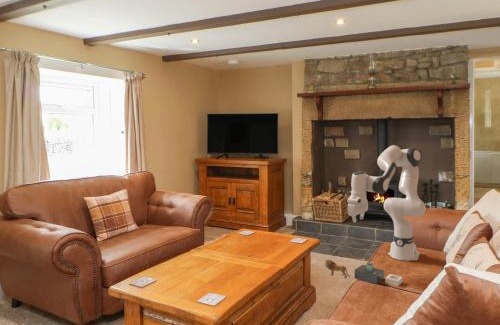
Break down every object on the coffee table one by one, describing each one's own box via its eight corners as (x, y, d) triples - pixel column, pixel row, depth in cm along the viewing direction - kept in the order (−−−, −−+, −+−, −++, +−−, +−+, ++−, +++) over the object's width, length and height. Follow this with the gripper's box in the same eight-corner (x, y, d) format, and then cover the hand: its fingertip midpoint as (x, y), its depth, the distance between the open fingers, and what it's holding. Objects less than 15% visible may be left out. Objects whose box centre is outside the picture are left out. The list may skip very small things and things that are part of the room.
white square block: (390, 279, 222) (390, 274, 221) (402, 282, 217) (402, 277, 217) (385, 283, 216) (385, 277, 216) (397, 286, 212) (398, 281, 212)
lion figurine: (323, 275, 228) (324, 260, 227) (325, 272, 233) (325, 257, 232) (349, 279, 222) (349, 263, 221) (351, 275, 227) (351, 260, 226)
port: (362, 273, 231) (362, 264, 230) (383, 278, 223) (384, 269, 222) (354, 278, 223) (354, 269, 223) (376, 284, 215) (376, 274, 214)
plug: (367, 276, 225) (368, 261, 224) (372, 278, 223) (373, 262, 222) (365, 278, 223) (366, 263, 222) (370, 279, 221) (371, 264, 220)
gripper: (361, 195, 246) (360, 216, 247) (345, 200, 231) (345, 223, 232) (370, 196, 242) (370, 218, 243) (355, 201, 226) (355, 224, 228)
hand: (358, 220), depth 237 cm, fingers open, 8 cm apart
